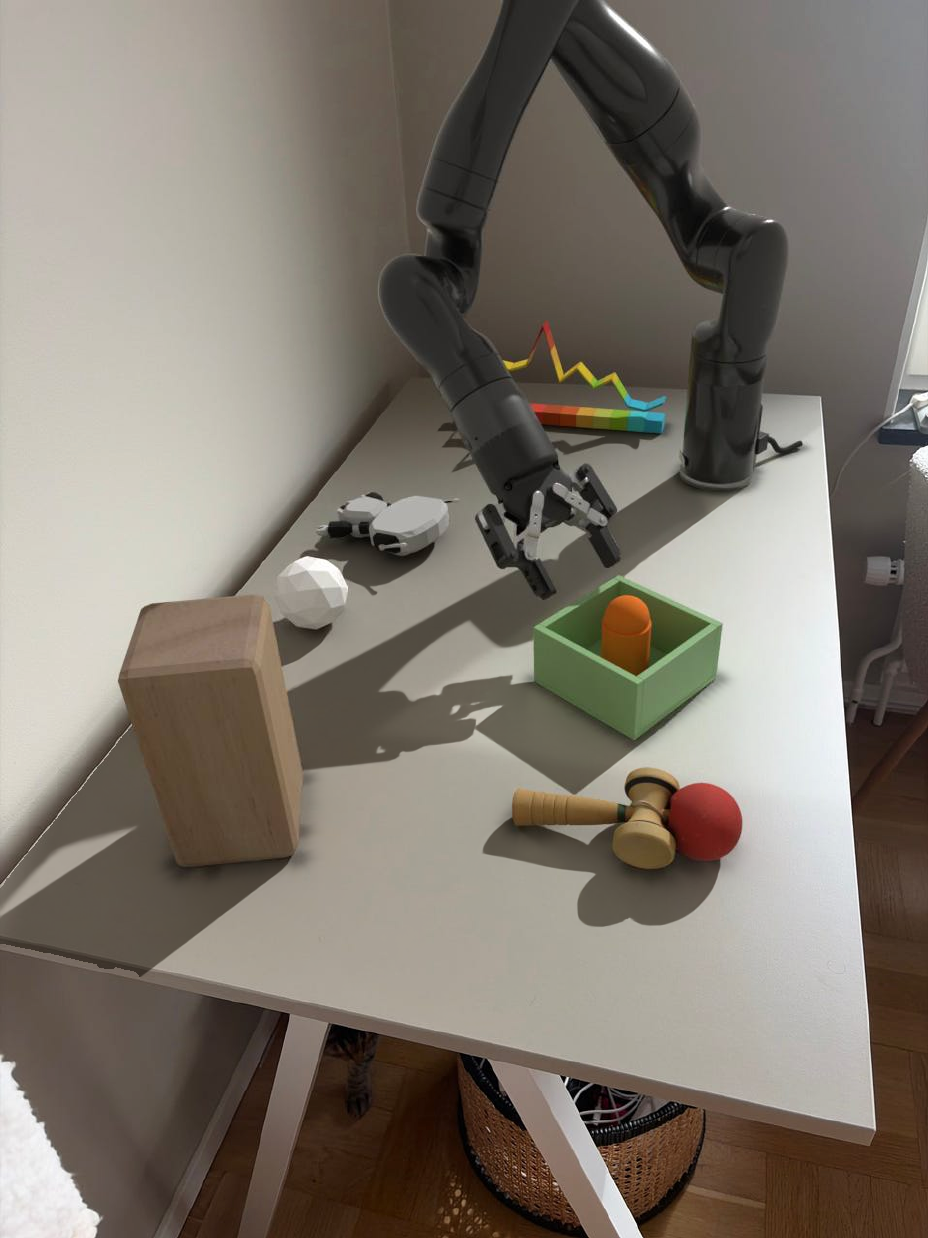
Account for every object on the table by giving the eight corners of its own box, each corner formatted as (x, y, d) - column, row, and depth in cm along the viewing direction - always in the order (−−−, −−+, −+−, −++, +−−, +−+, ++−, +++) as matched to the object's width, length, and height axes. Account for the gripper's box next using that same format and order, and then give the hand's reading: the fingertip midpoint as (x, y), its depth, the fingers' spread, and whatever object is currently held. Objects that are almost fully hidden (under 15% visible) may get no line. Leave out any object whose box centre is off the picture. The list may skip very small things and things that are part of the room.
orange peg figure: (620, 655, 98) (624, 580, 93) (657, 674, 95) (663, 598, 90) (590, 675, 96) (592, 599, 91) (627, 696, 93) (631, 618, 88)
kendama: (509, 873, 78) (742, 888, 73) (499, 807, 76) (739, 817, 70) (530, 817, 85) (744, 827, 80) (521, 755, 83) (742, 760, 77)
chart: (664, 424, 145) (671, 324, 136) (661, 433, 142) (668, 331, 134) (469, 409, 153) (464, 314, 145) (463, 417, 151) (458, 321, 142)
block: (192, 786, 87) (138, 599, 75) (305, 775, 87) (268, 587, 76) (175, 873, 79) (111, 678, 67) (299, 861, 79) (256, 665, 68)
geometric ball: (310, 652, 107) (261, 622, 101) (304, 593, 112) (257, 562, 106) (365, 623, 104) (319, 591, 98) (358, 565, 109) (313, 531, 103)
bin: (616, 627, 103) (618, 574, 99) (716, 678, 95) (723, 623, 92) (533, 681, 96) (533, 627, 93) (634, 741, 89) (637, 684, 85)
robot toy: (313, 554, 121) (414, 574, 113) (306, 521, 118) (408, 540, 111) (370, 510, 129) (467, 526, 122) (364, 479, 127) (463, 494, 119)
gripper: (462, 441, 89) (546, 596, 88) (575, 398, 96) (655, 542, 95) (432, 475, 96) (510, 619, 95) (540, 432, 103) (614, 567, 102)
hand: (582, 580), depth 95 cm, fingers open, 8 cm apart
